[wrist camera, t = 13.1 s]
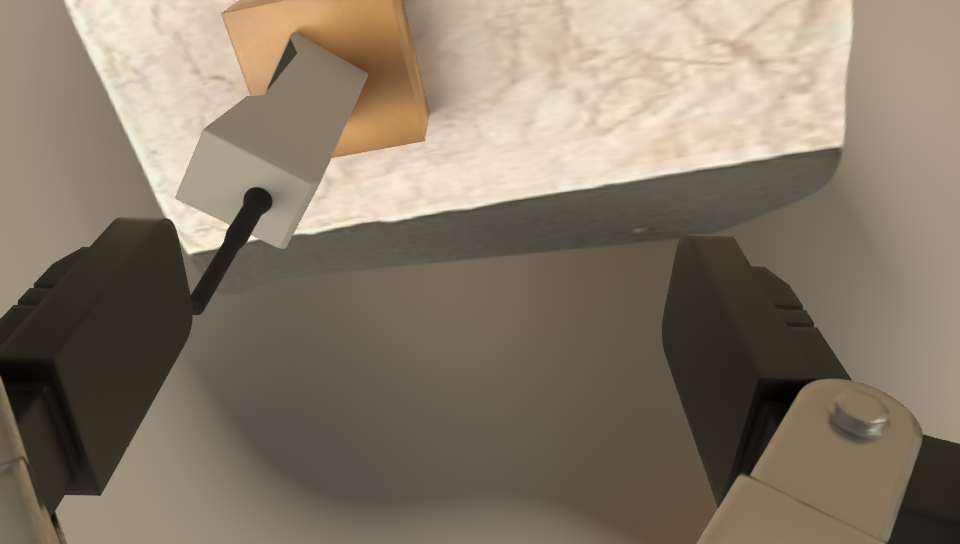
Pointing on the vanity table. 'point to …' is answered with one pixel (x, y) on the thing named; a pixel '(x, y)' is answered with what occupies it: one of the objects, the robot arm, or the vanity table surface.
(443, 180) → the vanity table surface
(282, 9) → the maple block
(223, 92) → the vanity table surface
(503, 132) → the vanity table surface
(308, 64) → the vintage mobile phone
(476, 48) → the vanity table surface
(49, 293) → the robot arm
